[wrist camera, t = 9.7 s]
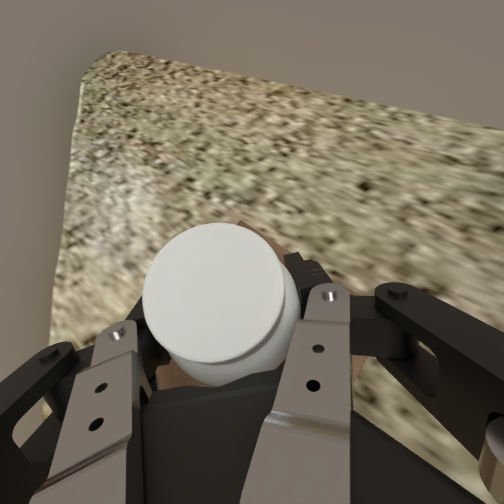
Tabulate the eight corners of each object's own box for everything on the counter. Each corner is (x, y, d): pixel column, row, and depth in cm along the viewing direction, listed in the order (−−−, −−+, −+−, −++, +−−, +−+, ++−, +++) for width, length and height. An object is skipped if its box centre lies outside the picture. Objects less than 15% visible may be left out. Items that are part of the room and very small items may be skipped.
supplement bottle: (279, 391, 14) (284, 436, 5) (192, 361, 15) (76, 359, 6) (300, 299, 16) (328, 222, 7) (221, 278, 17) (164, 189, 8)
